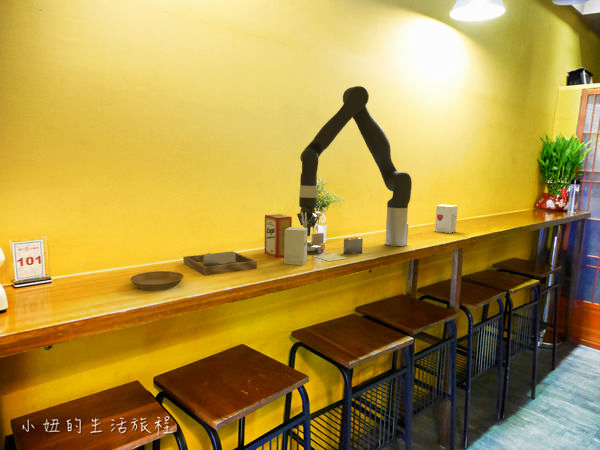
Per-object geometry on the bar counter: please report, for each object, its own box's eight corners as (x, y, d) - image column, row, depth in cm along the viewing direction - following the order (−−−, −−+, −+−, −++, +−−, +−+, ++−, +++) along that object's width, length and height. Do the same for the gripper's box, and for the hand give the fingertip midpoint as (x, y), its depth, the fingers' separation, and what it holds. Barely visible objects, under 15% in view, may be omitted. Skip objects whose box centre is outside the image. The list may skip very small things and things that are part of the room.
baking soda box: (291, 256, 164) (291, 215, 161) (276, 258, 160) (277, 216, 158) (278, 252, 171) (278, 213, 169) (264, 253, 168) (264, 214, 166)
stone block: (237, 272, 145) (236, 260, 154) (237, 260, 144) (235, 248, 153) (202, 275, 143) (203, 262, 152) (201, 262, 142) (202, 250, 151)
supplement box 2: (434, 231, 235) (435, 205, 232) (440, 230, 241) (442, 204, 239) (450, 233, 229) (452, 206, 227) (456, 231, 236) (458, 205, 233)
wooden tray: (232, 257, 159) (232, 251, 159) (256, 268, 144) (257, 261, 144) (183, 263, 148) (183, 256, 148) (204, 275, 133) (204, 268, 133)
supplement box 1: (303, 265, 150) (304, 230, 148) (283, 264, 151) (283, 229, 149) (307, 260, 157) (308, 227, 155) (288, 259, 158) (288, 226, 156)
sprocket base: (311, 247, 183) (311, 245, 183) (330, 252, 173) (330, 251, 173) (286, 250, 176) (286, 248, 176) (304, 255, 165) (304, 254, 165)
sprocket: (312, 245, 184) (313, 230, 183) (332, 250, 173) (333, 235, 172) (285, 248, 176) (286, 233, 175) (305, 254, 165) (305, 238, 164)
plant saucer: (155, 276, 132) (154, 268, 131) (194, 282, 126) (193, 274, 126) (118, 289, 118) (118, 280, 118) (160, 296, 113) (160, 286, 112)
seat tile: (332, 253, 170) (332, 253, 170) (348, 258, 162) (348, 257, 162) (312, 256, 164) (312, 255, 164) (328, 261, 156) (328, 260, 156)
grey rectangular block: (357, 251, 177) (358, 236, 176) (364, 252, 174) (364, 238, 173) (341, 253, 172) (341, 238, 171) (347, 255, 168) (348, 240, 168)
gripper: (324, 197, 176) (323, 237, 179) (306, 195, 187) (304, 233, 189) (310, 197, 172) (309, 239, 174) (292, 195, 182) (291, 234, 185)
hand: (306, 236), depth 182 cm, fingers closed
